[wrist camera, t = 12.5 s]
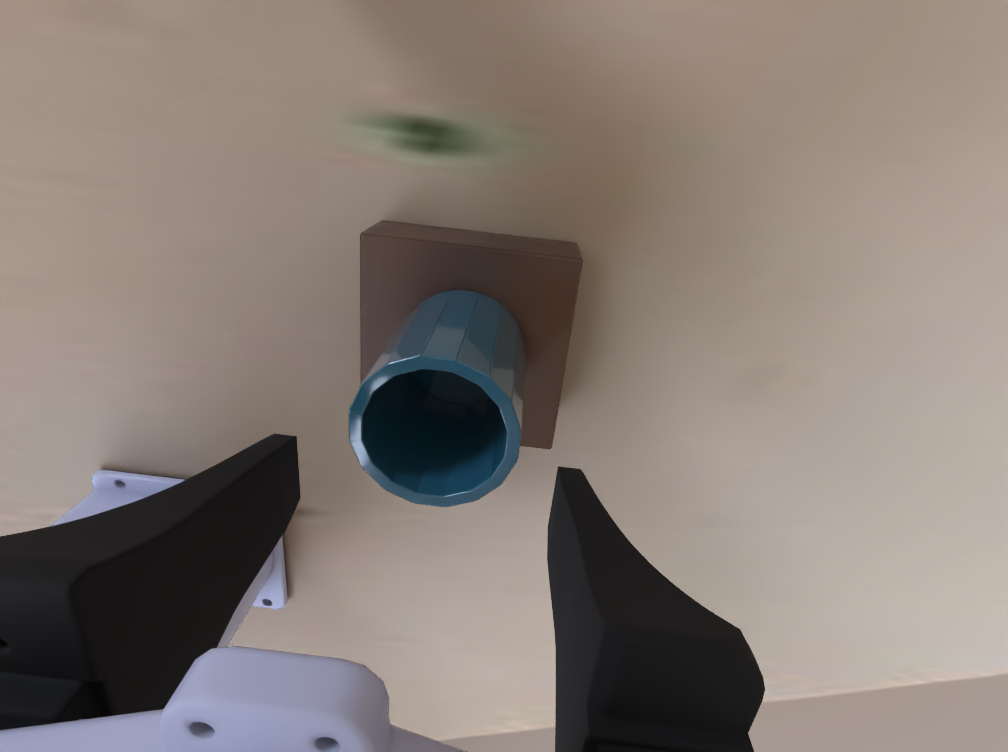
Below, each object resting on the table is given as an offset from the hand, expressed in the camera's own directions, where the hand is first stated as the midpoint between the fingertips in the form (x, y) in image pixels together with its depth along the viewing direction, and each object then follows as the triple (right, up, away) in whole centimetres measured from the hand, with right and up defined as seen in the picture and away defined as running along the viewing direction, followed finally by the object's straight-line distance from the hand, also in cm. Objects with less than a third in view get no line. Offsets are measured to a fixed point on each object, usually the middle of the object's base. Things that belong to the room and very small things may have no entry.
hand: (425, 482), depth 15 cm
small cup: (+1, +4, +6) cm, 7 cm away
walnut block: (+1, +5, +9) cm, 10 cm away
